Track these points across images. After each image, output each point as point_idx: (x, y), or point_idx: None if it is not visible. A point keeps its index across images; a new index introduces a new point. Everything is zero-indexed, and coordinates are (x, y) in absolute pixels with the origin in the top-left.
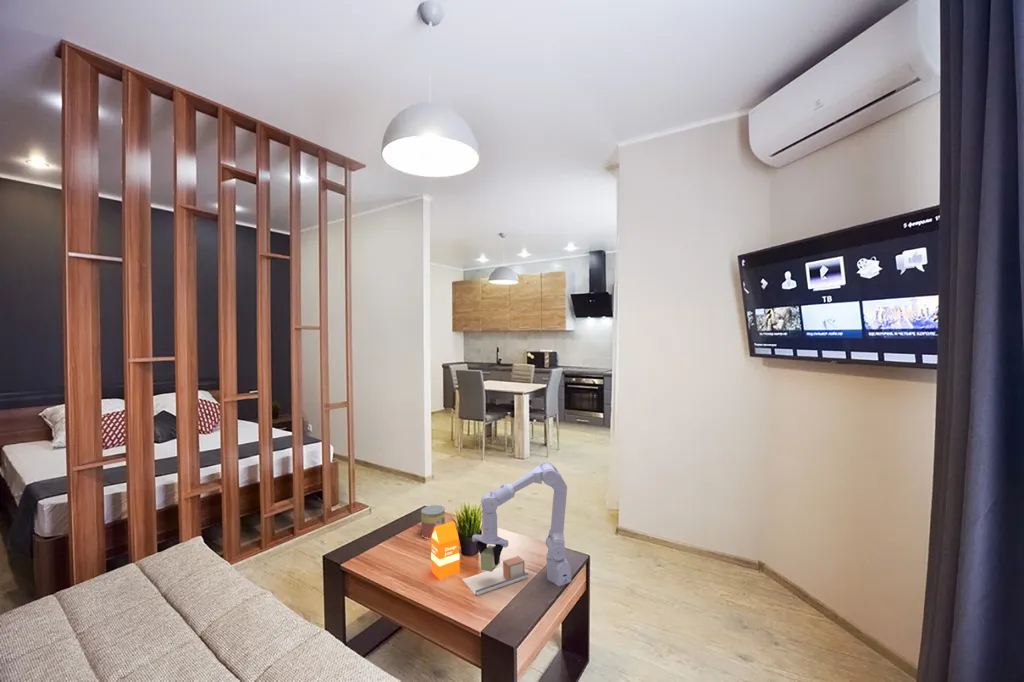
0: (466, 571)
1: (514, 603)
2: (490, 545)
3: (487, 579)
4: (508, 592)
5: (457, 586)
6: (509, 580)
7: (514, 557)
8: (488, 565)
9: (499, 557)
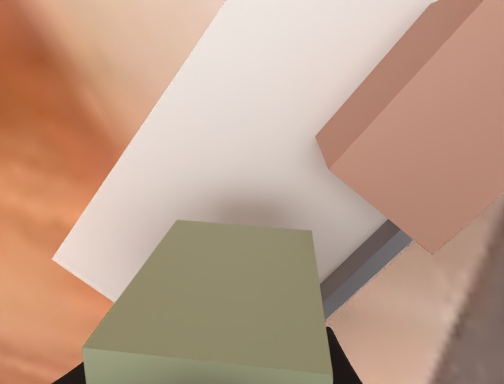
0: (5, 132)
1: (473, 368)
2: (111, 350)
3: (213, 214)
4: (406, 282)
5: (69, 304)
6: (410, 242)
7: (462, 35)
8: None
9: (352, 373)
